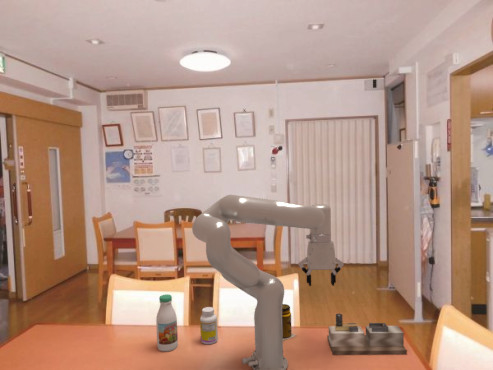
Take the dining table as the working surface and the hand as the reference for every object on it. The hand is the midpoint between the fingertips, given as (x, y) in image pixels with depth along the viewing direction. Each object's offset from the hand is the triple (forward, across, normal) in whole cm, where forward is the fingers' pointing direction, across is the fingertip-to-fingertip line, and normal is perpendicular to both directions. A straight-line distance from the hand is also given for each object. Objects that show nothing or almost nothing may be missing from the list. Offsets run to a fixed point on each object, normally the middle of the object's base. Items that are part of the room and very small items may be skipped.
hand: (321, 284), depth 140 cm
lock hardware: (+17, +17, 0) cm, 24 cm away
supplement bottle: (+24, -43, +5) cm, 50 cm away
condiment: (+24, -14, +10) cm, 30 cm away
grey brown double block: (+24, +16, 0) cm, 29 cm away
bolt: (+17, +9, 0) cm, 19 cm away
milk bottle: (+24, -59, +1) cm, 64 cm away
